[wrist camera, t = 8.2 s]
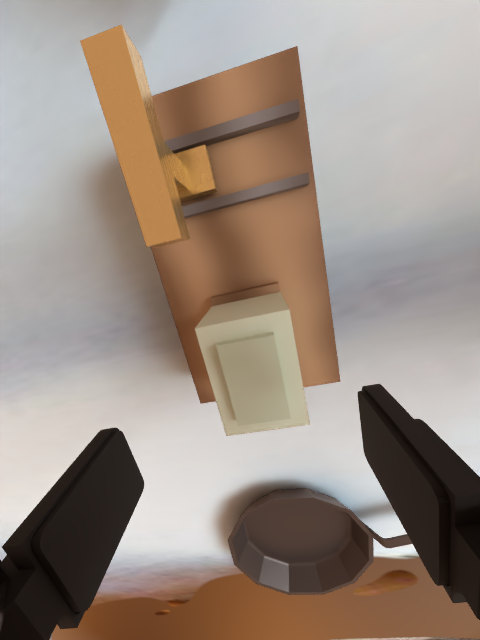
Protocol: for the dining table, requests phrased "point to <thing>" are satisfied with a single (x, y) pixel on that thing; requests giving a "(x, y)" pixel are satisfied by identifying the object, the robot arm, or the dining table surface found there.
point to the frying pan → (303, 543)
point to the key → (145, 141)
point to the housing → (249, 210)
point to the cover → (253, 364)
